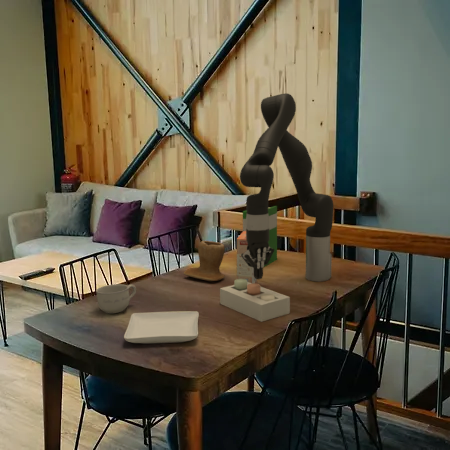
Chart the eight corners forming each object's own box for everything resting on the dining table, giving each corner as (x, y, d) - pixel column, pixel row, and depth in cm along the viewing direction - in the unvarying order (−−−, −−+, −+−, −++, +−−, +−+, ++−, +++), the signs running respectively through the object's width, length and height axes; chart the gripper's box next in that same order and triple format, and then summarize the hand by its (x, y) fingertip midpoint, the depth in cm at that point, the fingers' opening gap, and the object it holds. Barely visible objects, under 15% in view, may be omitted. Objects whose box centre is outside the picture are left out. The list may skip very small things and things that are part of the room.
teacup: (102, 318, 185) (100, 294, 184) (93, 308, 195) (92, 286, 193) (143, 310, 192) (142, 287, 190) (133, 301, 201) (131, 279, 200)
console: (247, 296, 204) (247, 281, 203) (289, 313, 187) (289, 297, 186) (220, 303, 197) (219, 288, 196) (261, 321, 180) (261, 305, 179)
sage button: (242, 285, 199) (241, 278, 199) (249, 288, 196) (249, 280, 195) (231, 287, 197) (231, 280, 196) (239, 291, 193) (239, 283, 193)
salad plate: (132, 322, 183) (131, 311, 182) (199, 320, 183) (198, 309, 183) (123, 349, 162) (122, 337, 161) (198, 346, 163) (198, 335, 162)
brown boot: (231, 277, 227) (230, 240, 224) (212, 285, 218) (211, 246, 215) (202, 271, 237) (201, 236, 234) (182, 278, 228) (181, 241, 225)
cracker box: (253, 296, 204) (252, 238, 200) (236, 295, 206) (235, 238, 202) (258, 284, 218) (258, 230, 214) (243, 283, 219) (242, 230, 215)
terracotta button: (254, 290, 194) (254, 282, 193) (263, 293, 190) (263, 285, 190) (244, 292, 191) (244, 285, 191) (252, 296, 188) (252, 288, 187)
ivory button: (268, 300, 189) (268, 293, 188) (277, 304, 185) (277, 296, 185) (258, 303, 186) (258, 295, 186) (266, 307, 183) (266, 299, 182)
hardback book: (261, 258, 257) (261, 205, 252) (277, 259, 253) (276, 206, 248) (243, 267, 242) (242, 211, 237) (259, 269, 238) (258, 212, 233)
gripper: (265, 222, 192) (265, 272, 196) (234, 228, 184) (235, 280, 188) (280, 225, 186) (280, 277, 190) (249, 231, 178) (250, 285, 182)
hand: (258, 278), depth 189 cm, fingers closed
